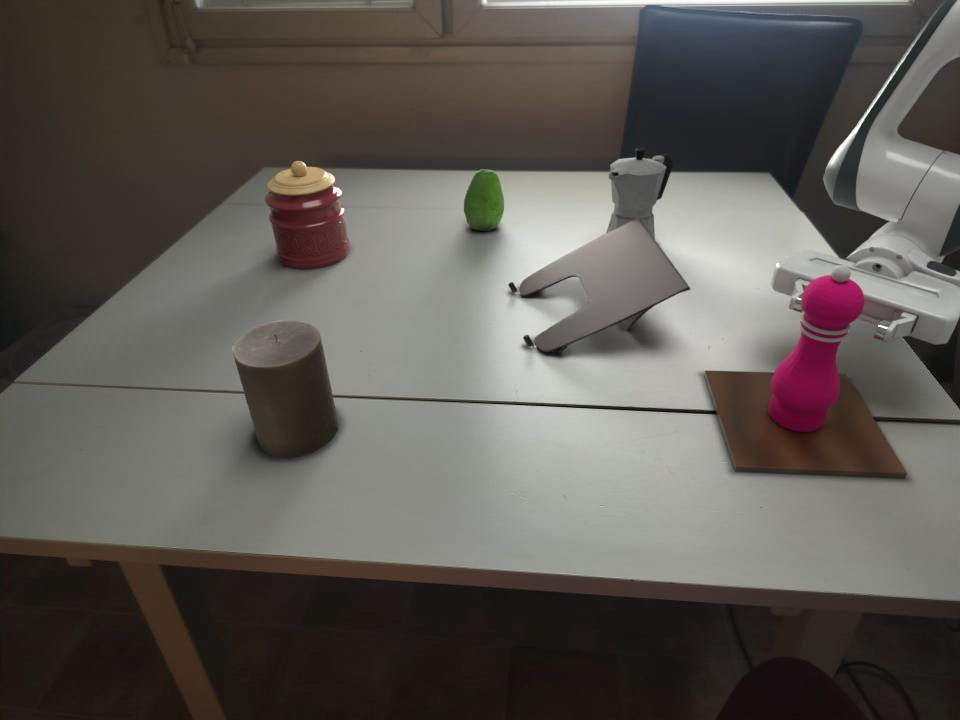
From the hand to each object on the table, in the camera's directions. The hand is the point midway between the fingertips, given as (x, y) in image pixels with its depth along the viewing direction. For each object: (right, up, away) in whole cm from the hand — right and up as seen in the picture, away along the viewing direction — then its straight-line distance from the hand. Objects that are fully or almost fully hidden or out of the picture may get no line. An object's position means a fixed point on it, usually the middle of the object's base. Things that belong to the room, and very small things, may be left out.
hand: (837, 319), depth 75 cm
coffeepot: (-12, +16, +48) cm, 52 cm away
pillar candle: (-63, -14, +7) cm, 64 cm away
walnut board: (-2, -13, +6) cm, 14 cm away
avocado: (-40, +21, +55) cm, 71 cm away
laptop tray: (-24, +2, +27) cm, 37 cm away
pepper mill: (-2, -11, +5) cm, 13 cm away
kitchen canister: (-70, +14, +47) cm, 86 cm away
